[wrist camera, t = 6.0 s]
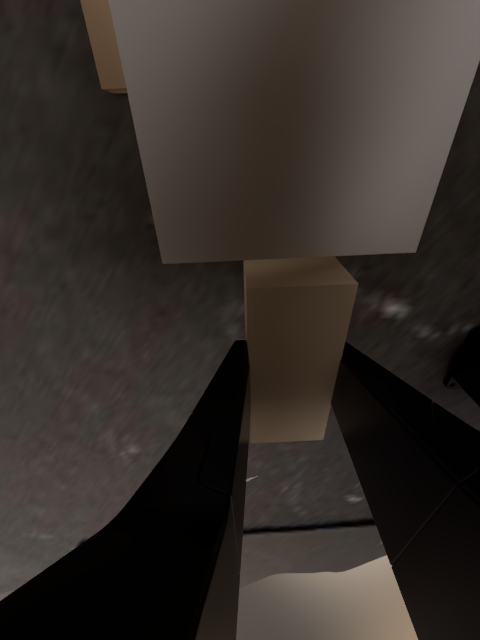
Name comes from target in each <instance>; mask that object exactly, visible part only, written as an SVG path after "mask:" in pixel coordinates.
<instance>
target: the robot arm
mask: <svg viewBox="0 0 480 640" xmlns="http://www.w3.org/2000/svg"><path fill="white" fill-rule="evenodd" d="M444 385H445V386H446V388H448V389H460V388H463V389H464V390H465V391H466V393H467V394H468V395H469V396H470V397H471V398H472V399H473V400H474V401H475V402H476V403H477V405H478V406H479V407H480V327H479V328H476V329H474V330H473V331H472V332H471V333H470V335H469V337H468V339H467V341H466V343H465V344H464V346H463V348H462V350H461V352H460V353H459V355H458V357H457V359H456V361H455V363H454V364H453V366H452V368H451V370H450V372H449V374H448V375H447V377H446V379H445V381H444ZM331 405H332V408H333V411H334V413H335V416H336V419H337V421H338V424H339V427H340V430H341V432H342V435H343V438H344V440H345V443H346V446H347V448H348V451H349V454H350V456H351V459H352V462H353V464H354V467H355V470H356V473H357V475H358V478H359V481H360V483H361V486H362V489H363V491H364V494H365V497H366V499H367V502H368V505H369V508H370V510H371V513H372V516H373V518H374V521H375V524H376V526H377V529H378V532H379V534H380V537H381V540H382V542H383V545H384V548H385V551H386V553H387V556H388V559H389V561H390V564H391V565H392V569H393V572H394V575H395V578H396V581H397V583H398V586H399V589H400V591H401V594H402V597H403V599H404V602H405V605H406V607H407V610H408V613H409V615H410V618H411V621H412V623H413V626H414V629H415V631H416V634H417V637H418V640H480V431H478V430H476V429H475V428H473V427H471V426H470V425H468V424H467V423H465V422H464V421H462V420H461V419H459V418H458V417H456V416H454V415H453V414H451V413H450V412H448V411H447V410H445V409H444V408H443V407H441V406H440V405H438V404H437V403H435V402H434V403H433V402H432V400H431V399H429V398H428V397H426V396H425V395H423V394H422V393H420V392H419V391H417V390H416V389H415V388H413V387H412V386H410V385H409V384H407V383H406V382H404V381H403V380H401V379H400V378H398V377H397V376H395V375H394V374H393V373H391V372H390V371H388V370H387V369H385V368H384V367H382V366H381V365H379V364H378V363H376V362H375V361H373V360H372V359H371V358H369V357H368V356H366V355H365V354H363V353H362V352H360V351H359V350H357V349H356V348H354V347H353V346H351V345H350V344H349V343H347V342H346V341H345V345H344V350H343V354H342V358H341V360H340V364H339V368H338V373H337V377H336V382H335V386H334V391H333V395H332V399H331ZM250 414H251V395H250V364H249V357H248V347H247V340H236V341H235V342H234V343H233V345H232V346H231V348H230V350H229V352H228V353H227V355H226V357H225V358H224V360H223V362H222V363H221V365H220V367H219V368H218V370H217V372H216V373H215V375H214V377H213V378H212V380H211V382H210V383H209V385H208V387H207V389H206V390H205V392H204V394H203V395H202V397H201V399H200V400H199V402H198V404H197V405H196V407H195V409H194V410H193V412H192V414H191V415H190V417H189V419H188V420H187V422H186V424H185V425H184V427H183V428H182V430H181V432H180V433H179V435H178V436H177V438H176V439H175V441H174V442H173V444H172V445H171V446H170V448H169V449H168V450H167V452H166V453H165V454H164V456H163V457H162V459H161V460H160V461H159V462H158V464H157V465H156V466H155V468H154V469H153V470H152V472H151V473H150V474H149V475H148V477H147V478H146V479H145V481H144V482H143V483H142V485H141V486H140V487H139V488H138V490H137V491H136V492H135V494H134V495H133V496H132V498H131V499H130V500H129V501H128V503H127V504H126V505H125V506H124V508H123V509H122V510H121V511H120V512H119V513H118V514H117V516H116V517H115V518H114V519H112V520H111V521H110V522H109V523H108V524H107V525H106V526H105V527H104V528H103V529H101V530H100V531H99V532H97V533H96V534H95V535H93V536H92V537H90V538H89V539H88V540H86V541H85V542H83V543H82V544H81V545H79V546H78V547H76V548H75V549H73V550H72V551H71V552H69V553H68V554H66V555H65V556H64V557H62V558H61V559H59V560H58V561H56V562H55V563H54V564H52V565H51V566H49V567H48V568H46V569H45V570H44V571H42V572H41V573H39V574H38V575H37V576H35V577H34V578H32V579H31V580H29V581H28V582H27V583H25V584H24V585H22V586H21V587H20V588H18V589H17V590H15V591H14V592H12V593H11V594H10V595H8V596H7V597H5V598H4V599H3V600H1V601H0V640H236V630H237V614H238V598H239V584H240V568H241V553H242V537H243V522H244V506H245V491H246V475H247V460H248V445H249V429H250Z"/></svg>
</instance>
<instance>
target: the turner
mask: <svg viewBox="0 0 480 640" xmlns="http://www.w3.org/2000/svg"><path fill="white" fill-rule="evenodd" d="M108 1H109V5H110V10H111V15H112V20H113V25H114V30H115V35H116V39H117V44H118V49H119V54H120V59H121V64H122V69H123V74H124V78H125V83H126V88H127V93H128V98H129V103H130V108H131V113H132V117H133V122H134V127H135V132H136V137H137V142H138V147H139V152H140V156H141V161H142V166H143V171H144V176H145V181H146V186H147V191H148V195H149V200H150V205H151V210H152V215H153V220H154V225H155V230H156V234H157V239H158V244H159V249H160V254H161V259H162V264H174V263H196V262H218V261H240V260H243V266H244V298H245V331H246V340H247V347H248V357H249V364H250V395H251V414H250V436H251V443H269V442H290V441H310V440H323V437H324V433H325V429H326V424H327V420H328V415H329V411H330V407H331V399H332V395H333V391H334V386H335V382H336V377H337V373H338V368H339V364H340V360H341V358H342V354H343V350H344V345H345V341H346V336H347V332H348V328H349V323H350V319H351V314H352V310H353V306H354V301H355V297H356V292H357V288H358V283H357V281H356V280H355V279H354V278H353V277H352V276H351V275H350V273H349V272H348V271H347V270H346V269H345V268H344V266H343V265H342V264H341V263H340V262H339V261H338V260H337V258H336V257H335V256H350V255H372V254H394V253H416V250H417V247H418V244H419V241H420V238H421V235H422V232H423V229H424V226H425V223H426V220H427V217H428V214H429V211H430V208H431V205H432V202H433V199H434V196H435V193H436V190H437V187H438V184H439V181H440V178H441V175H442V172H443V169H444V166H445V163H446V160H447V157H448V154H449V151H450V148H451V145H452V142H453V139H454V136H455V133H456V130H457V127H458V124H459V121H460V118H461V115H462V112H463V109H464V106H465V103H466V100H467V97H468V94H469V91H470V88H471V85H472V82H473V79H474V76H475V73H476V70H477V67H478V64H479V61H480V0H108Z"/></svg>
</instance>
